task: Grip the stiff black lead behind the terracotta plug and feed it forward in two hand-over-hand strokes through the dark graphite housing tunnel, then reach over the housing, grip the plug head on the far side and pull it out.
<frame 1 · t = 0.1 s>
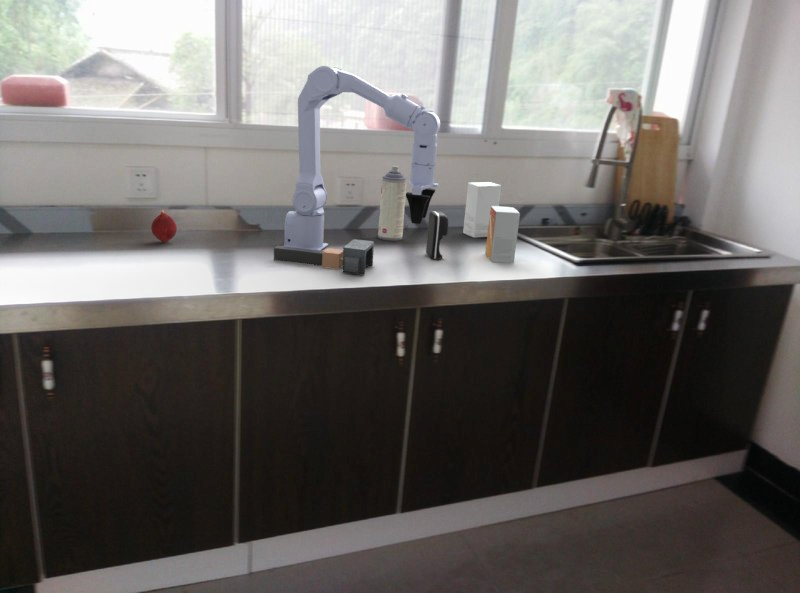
hand: (418, 220, 156), 10 cm above the counter, tool pointing down, fingers open, 7 cm apart
onion: (164, 243, 158), on the counter
aerosol can: (390, 238, 181), on the counter
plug: (332, 266, 149), on the counter
small box: (498, 259, 168), on the counter
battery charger: (435, 257, 165), on the counter
skincare box: (479, 235, 193), on the counter
housing: (357, 268, 148), on the counter
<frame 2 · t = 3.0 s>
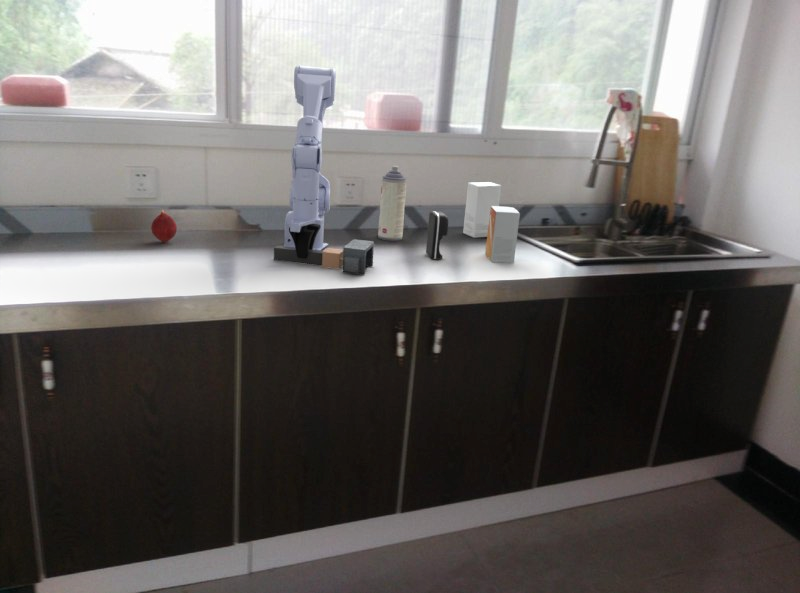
hand: (304, 256, 150), 1 cm above the counter, tool pointing down, fingers closed on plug, 2 cm apart
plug: (332, 265, 149), on the counter, touching gripper
everything else where it was.
when the fingers open (1 cm above the counter, at t = 4.8 s): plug stays where it is, on the counter.
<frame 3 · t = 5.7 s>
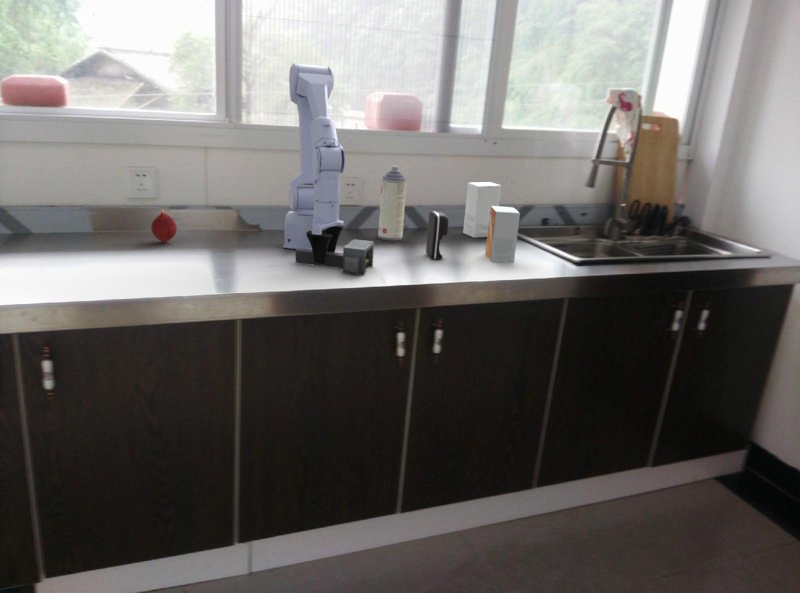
hand: (324, 258, 149), 1 cm above the counter, tool pointing down, fingers open, 7 cm apart
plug: (354, 268, 148), on the counter
everything else where it was.
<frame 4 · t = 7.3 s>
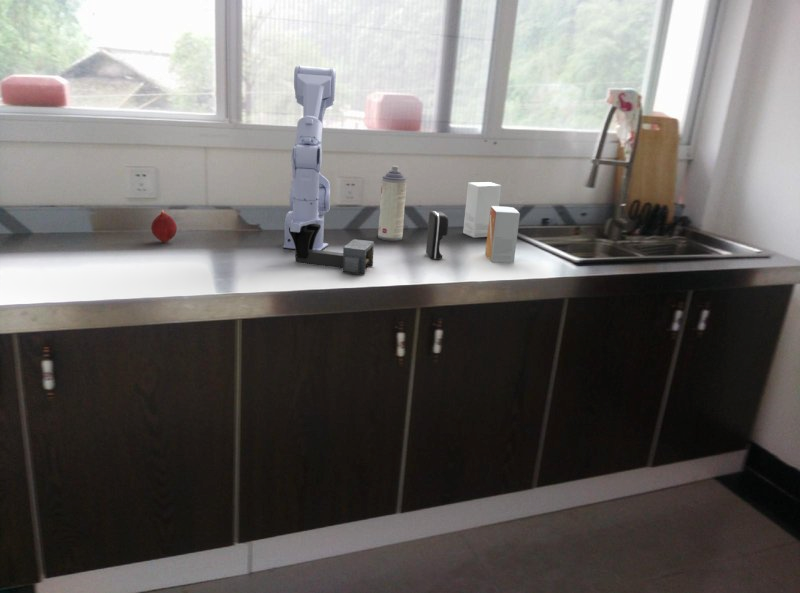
hand: (304, 256, 150), 1 cm above the counter, tool pointing down, fingers closed on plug, 2 cm apart
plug: (354, 268, 148), on the counter, touching gripper
everything else where it was.
when the fingers open (1 cm above the counter, at t = 9.0 s): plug stays where it is, on the counter.
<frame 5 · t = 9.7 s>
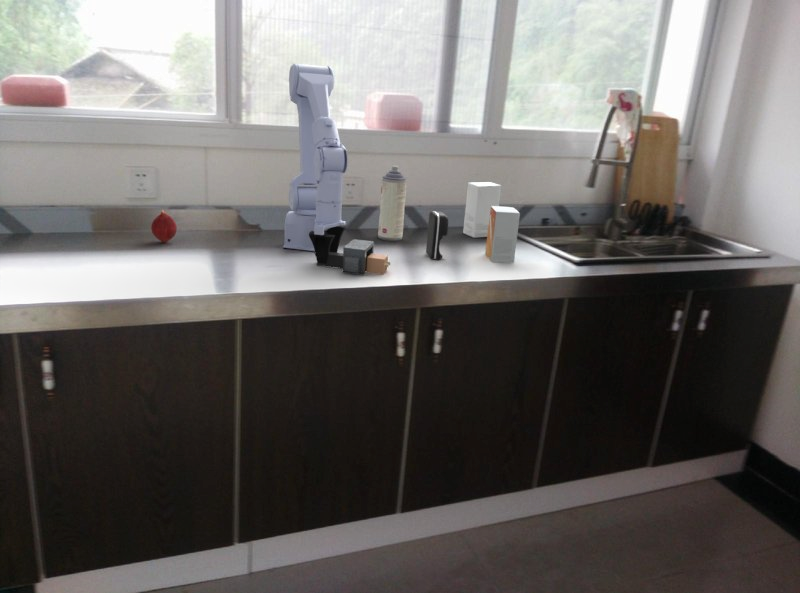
hand: (326, 259, 149), 1 cm above the counter, tool pointing down, fingers open, 7 cm apart
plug: (376, 271, 148), on the counter
everything else where it was.
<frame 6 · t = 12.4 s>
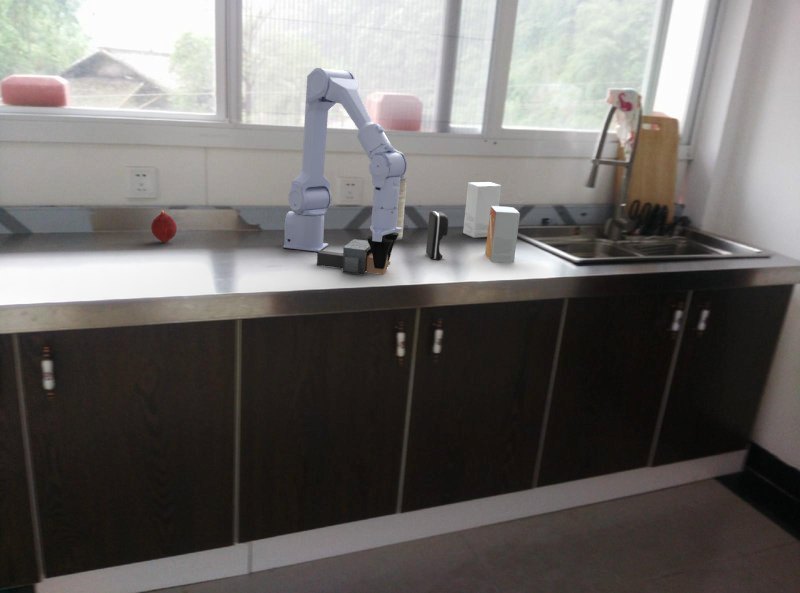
hand: (381, 265, 147), 1 cm above the counter, tool pointing down, fingers closed on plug, 4 cm apart
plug: (376, 271, 148), on the counter, touching gripper
everything else where it was.
when the fingers open (1 cm above the counter, at t = 14.0 s): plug stays where it is, on the counter.
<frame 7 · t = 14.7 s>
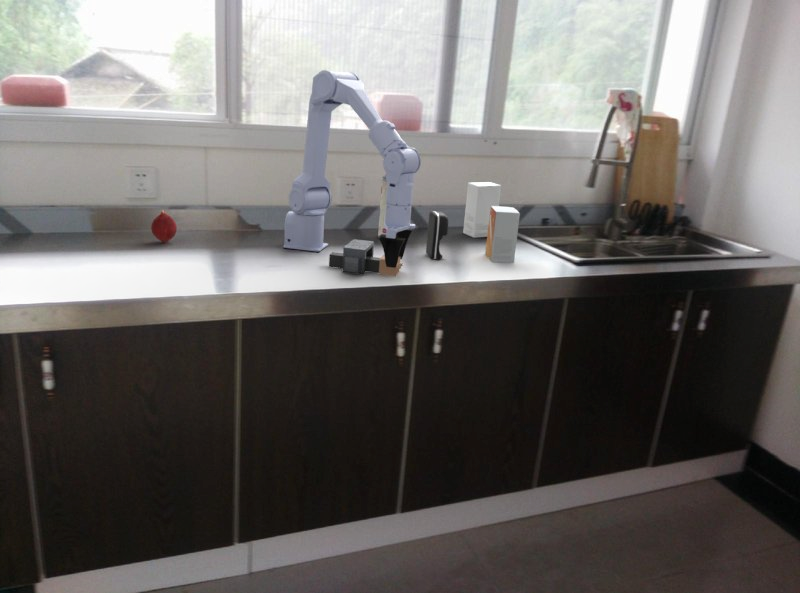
hand: (394, 262, 146), 2 cm above the counter, tool pointing down, fingers open, 7 cm apart
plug: (389, 273, 147), on the counter
everything else where it was.
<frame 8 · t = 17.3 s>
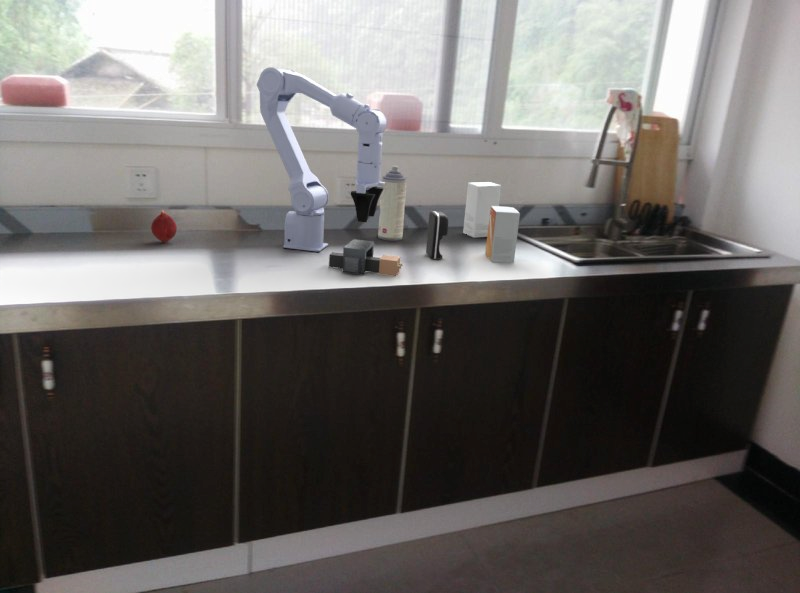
hand: (366, 218, 157), 9 cm above the counter, tool pointing down, fingers open, 7 cm apart
nothing on the counter moved.
at the end: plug inside the target area (1.1 cm from its centre), on the counter; the gripper is holding nothing; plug moved 13.4 cm from its start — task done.
